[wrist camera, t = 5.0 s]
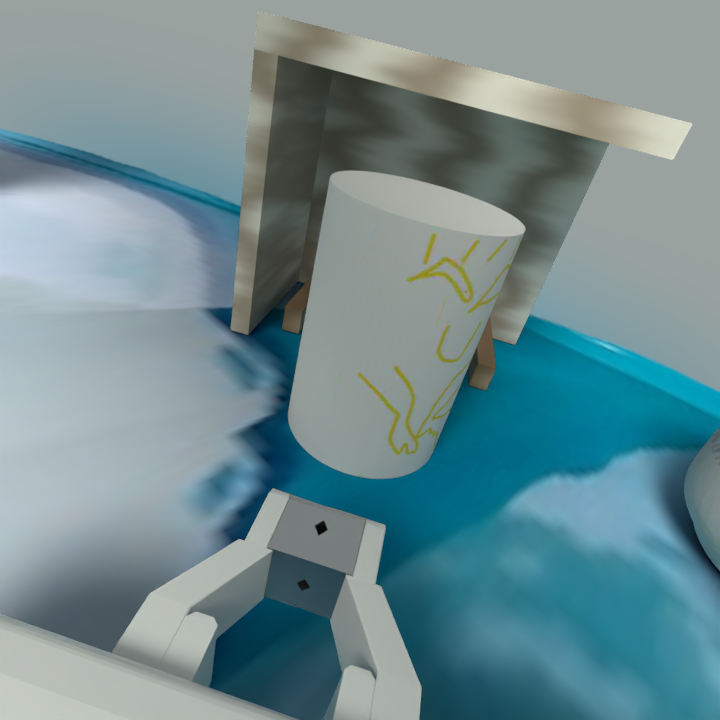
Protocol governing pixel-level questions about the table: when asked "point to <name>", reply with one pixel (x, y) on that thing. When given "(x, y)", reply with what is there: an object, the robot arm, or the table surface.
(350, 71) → the marbled side table
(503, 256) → the cup
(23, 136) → the table surface
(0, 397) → the table surface
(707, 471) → the teacup
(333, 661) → the table surface
